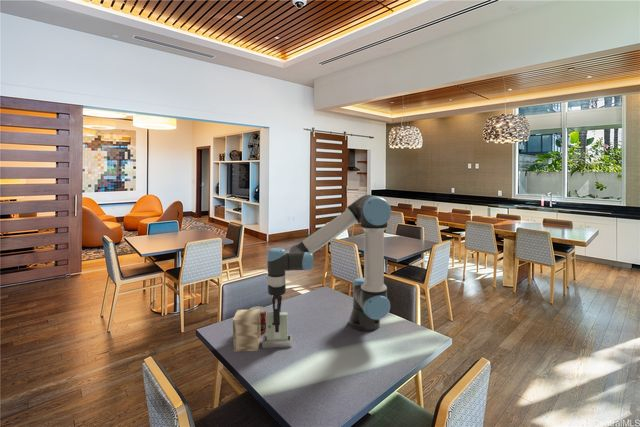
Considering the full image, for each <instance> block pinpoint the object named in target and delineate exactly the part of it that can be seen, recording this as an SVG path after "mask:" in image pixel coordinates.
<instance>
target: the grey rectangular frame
mask: <svg viewBox="0 0 640 427" xmlns="http://www.w3.org/2000/svg"><path fill="white" fill-rule="evenodd" d="M261 342H262V344H261V345H262V346H261V347H262V349H268V348H292V347H293V335H292V334H288V340H286V341H267V335H263V337H262V341H261Z"/></svg>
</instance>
